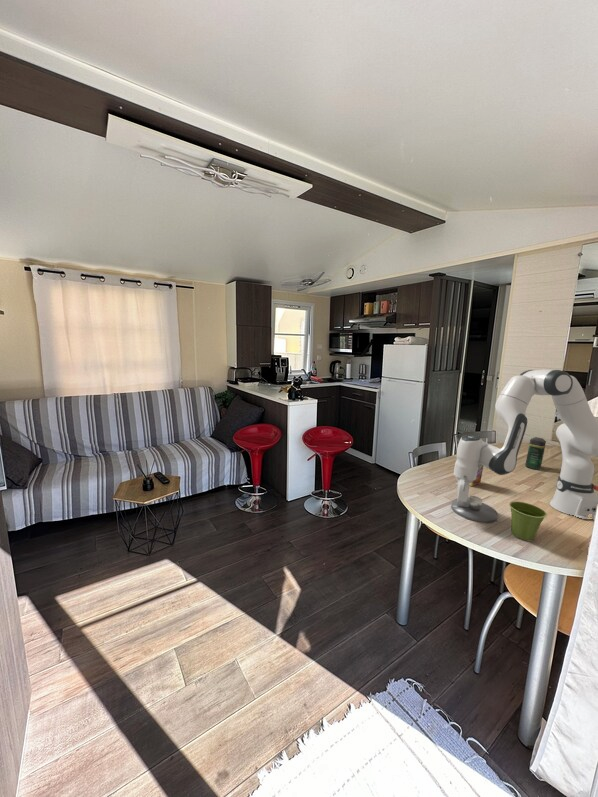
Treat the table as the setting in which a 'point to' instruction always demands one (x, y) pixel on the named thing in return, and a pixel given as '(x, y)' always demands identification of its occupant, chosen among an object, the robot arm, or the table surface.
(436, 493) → the table surface
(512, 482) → the table surface
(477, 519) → the dial plate
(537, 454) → the coffee jar
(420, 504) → the table surface
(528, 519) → the plant pot
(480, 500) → the dial
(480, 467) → the candy box
